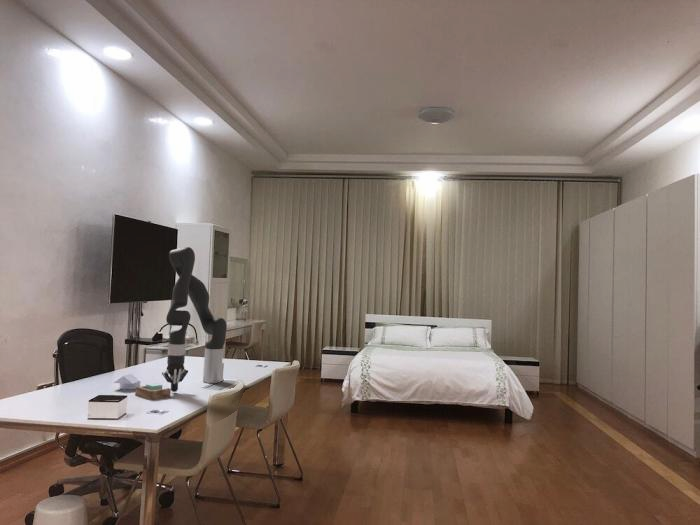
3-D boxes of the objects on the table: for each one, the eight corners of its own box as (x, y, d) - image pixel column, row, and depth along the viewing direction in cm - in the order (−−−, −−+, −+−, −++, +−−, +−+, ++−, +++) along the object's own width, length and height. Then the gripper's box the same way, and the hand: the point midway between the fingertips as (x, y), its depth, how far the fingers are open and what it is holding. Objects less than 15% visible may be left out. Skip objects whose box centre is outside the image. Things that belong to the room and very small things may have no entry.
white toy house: (132, 391, 256) (142, 386, 269) (133, 376, 256) (143, 372, 269) (112, 390, 256) (124, 385, 269) (113, 375, 256) (125, 371, 269)
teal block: (155, 394, 252) (156, 383, 252) (161, 396, 249) (162, 385, 249) (145, 395, 248) (146, 384, 248) (151, 397, 245) (152, 386, 245)
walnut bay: (154, 392, 255) (155, 384, 255) (170, 397, 248) (170, 388, 248) (135, 395, 248) (135, 386, 248) (150, 399, 240) (150, 391, 240)
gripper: (184, 351, 265) (181, 388, 264) (159, 353, 254) (156, 391, 254) (193, 353, 260) (191, 391, 259) (168, 355, 250) (165, 394, 249)
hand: (174, 391), depth 256 cm, fingers closed
